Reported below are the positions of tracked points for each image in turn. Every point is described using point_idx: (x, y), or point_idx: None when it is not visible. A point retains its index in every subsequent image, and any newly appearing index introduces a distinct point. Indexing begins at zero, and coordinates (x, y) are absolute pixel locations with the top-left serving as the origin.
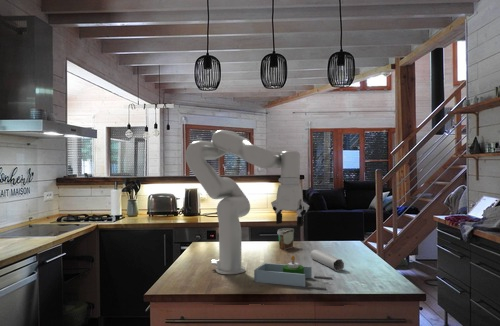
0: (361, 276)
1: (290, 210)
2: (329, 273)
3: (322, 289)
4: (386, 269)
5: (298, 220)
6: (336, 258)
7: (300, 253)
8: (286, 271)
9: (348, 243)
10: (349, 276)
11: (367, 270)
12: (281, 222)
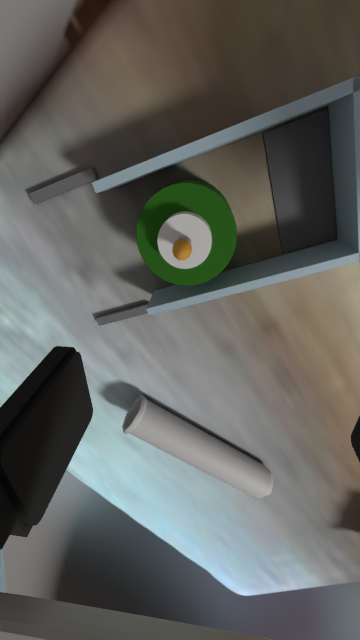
0: None
1: (9, 621)
2: (140, 366)
3: (41, 188)
4: None
5: (9, 398)
6: (144, 437)
7: (322, 494)
8: (192, 182)
9: (246, 580)
10: None
11: None
12: (356, 435)
